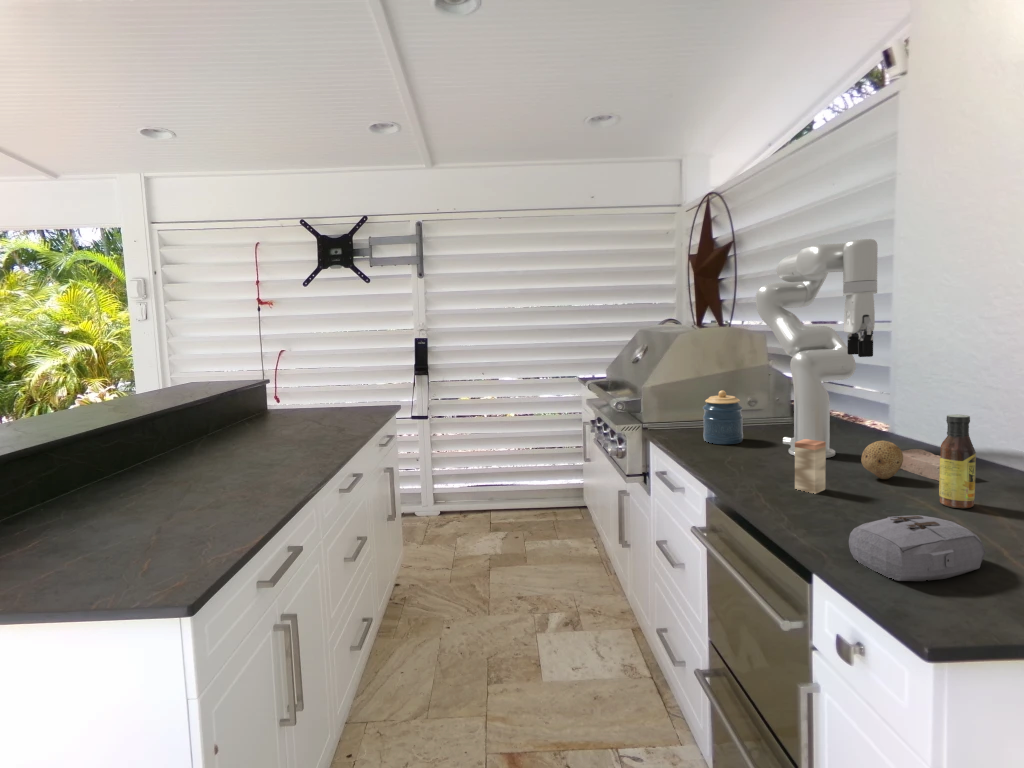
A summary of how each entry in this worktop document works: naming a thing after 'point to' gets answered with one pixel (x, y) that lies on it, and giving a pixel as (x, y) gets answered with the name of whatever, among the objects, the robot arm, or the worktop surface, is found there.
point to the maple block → (810, 465)
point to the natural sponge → (882, 459)
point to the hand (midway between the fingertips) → (859, 355)
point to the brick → (921, 463)
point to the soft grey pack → (916, 548)
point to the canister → (723, 419)
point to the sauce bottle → (957, 464)
